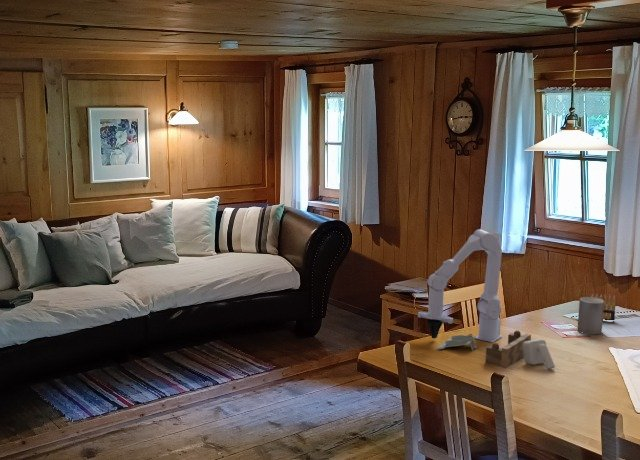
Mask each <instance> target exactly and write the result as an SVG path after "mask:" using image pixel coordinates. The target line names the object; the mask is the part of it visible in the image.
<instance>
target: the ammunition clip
mask: <svg viewBox="0 0 640 460" xmlns="http://www.w3.org/2000/svg"><path fill="white" fill-rule="evenodd" d="M590 297H595V298H600V299H602V300H604V307H603V319H605V320H615V319H616V318H615V317H616V316H615V315H616V295H615V294H614V295H613V297H611V294H609V295H608V298H607V294H604V296H603V294H602V293H601V294H600V296H599V294H598V293H596V295H594V293H592V294H591V296H590Z"/></svg>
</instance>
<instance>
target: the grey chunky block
mask: <svg viewBox="0 0 640 460" xmlns="http://www.w3.org/2000/svg"><path fill="white" fill-rule="evenodd" d="M523 352H524V357H523V361H524V363H525V364H526V365H532V366H533V365H539V364H544V366H545V368H546V370H551V369H554V368H556V365H555V363H554V361H553V358H552V355H551V353H550V351H549V348H548V346H547V342H546V340H543V339H533V340H532V339H531V341H525V342H524V343H523Z"/></svg>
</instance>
